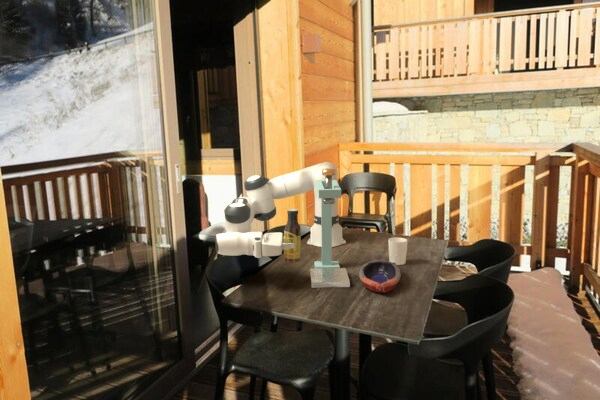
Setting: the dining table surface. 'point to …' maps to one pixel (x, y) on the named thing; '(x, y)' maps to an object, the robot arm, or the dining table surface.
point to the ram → (328, 183)
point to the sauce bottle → (292, 236)
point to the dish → (380, 275)
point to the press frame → (327, 223)
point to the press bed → (329, 277)
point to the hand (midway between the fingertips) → (294, 242)
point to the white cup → (397, 250)
